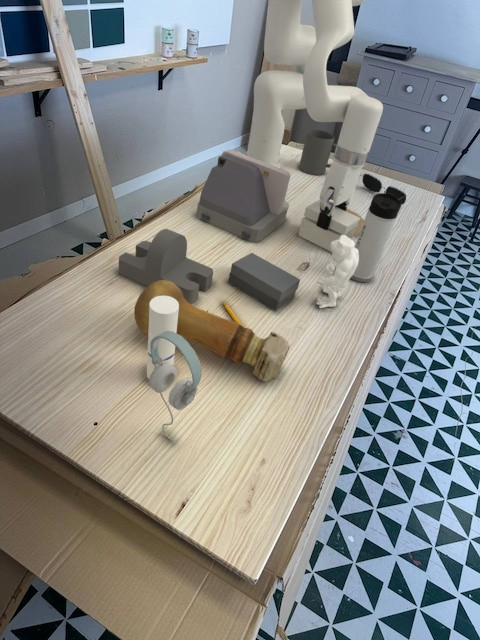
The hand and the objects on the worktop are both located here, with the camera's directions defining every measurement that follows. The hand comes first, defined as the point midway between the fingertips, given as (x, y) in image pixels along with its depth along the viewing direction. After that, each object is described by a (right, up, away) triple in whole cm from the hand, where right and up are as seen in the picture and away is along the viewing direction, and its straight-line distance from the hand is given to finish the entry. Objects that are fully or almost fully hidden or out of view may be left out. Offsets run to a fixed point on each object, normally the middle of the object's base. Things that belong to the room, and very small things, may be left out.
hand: (329, 222), depth 119 cm
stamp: (-29, -30, -35) cm, 54 cm away
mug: (+4, +26, +40) cm, 48 cm away
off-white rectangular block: (-1, -4, +3) cm, 5 cm away
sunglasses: (+18, +13, +28) cm, 36 cm away
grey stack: (-18, -18, -18) cm, 32 cm away
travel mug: (+6, -14, -7) cm, 17 cm away
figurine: (-4, -21, -17) cm, 27 cm away
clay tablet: (+5, +3, +13) cm, 14 cm away
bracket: (-39, -16, -20) cm, 46 cm away
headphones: (-34, -42, -50) cm, 74 cm away
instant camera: (-23, +2, +6) cm, 23 cm away
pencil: (-22, -27, -29) cm, 46 cm away
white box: (0, 0, 0) cm, 1 cm away
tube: (-36, -34, -41) cm, 64 cm away
